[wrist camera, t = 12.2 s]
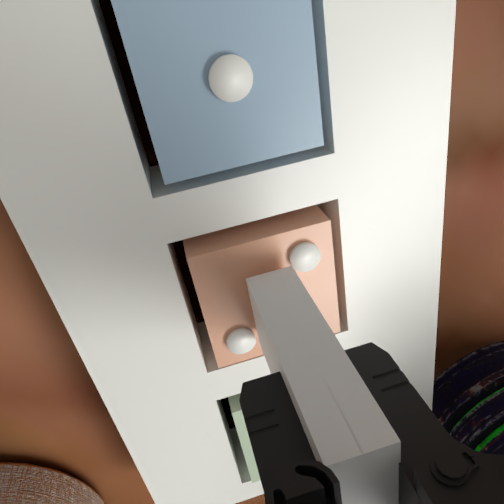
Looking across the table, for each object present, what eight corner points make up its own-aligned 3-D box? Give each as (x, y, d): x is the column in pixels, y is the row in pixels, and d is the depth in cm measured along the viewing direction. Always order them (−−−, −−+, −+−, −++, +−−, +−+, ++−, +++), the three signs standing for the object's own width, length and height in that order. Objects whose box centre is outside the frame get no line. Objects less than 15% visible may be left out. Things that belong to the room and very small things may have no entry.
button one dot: (159, 152, 15) (165, 187, 12) (113, -5, 12) (107, -11, 9) (289, 121, 15) (326, 147, 12) (270, -36, 13) (309, -50, 10)
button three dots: (205, 314, 18) (219, 372, 15) (177, 216, 16) (186, 262, 13) (310, 284, 19) (342, 334, 16) (297, 185, 16) (332, 222, 13)
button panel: (163, 467, 22) (166, 526, 20) (-73, -49, 11) (-135, -67, 9) (398, 391, 24) (430, 437, 21) (398, -132, 13) (466, -169, 10)
